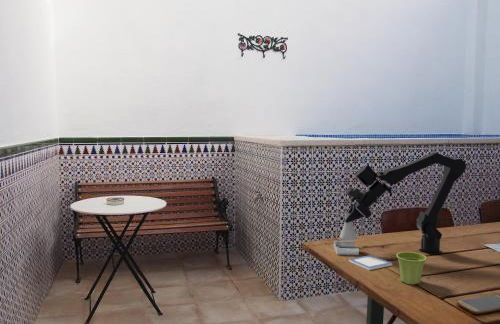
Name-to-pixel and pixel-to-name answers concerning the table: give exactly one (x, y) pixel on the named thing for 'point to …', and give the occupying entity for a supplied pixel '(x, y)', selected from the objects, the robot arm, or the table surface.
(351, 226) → the flask
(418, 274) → the plant pot
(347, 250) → the grey u-shaped bracket
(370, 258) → the white tile
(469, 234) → the table surface
